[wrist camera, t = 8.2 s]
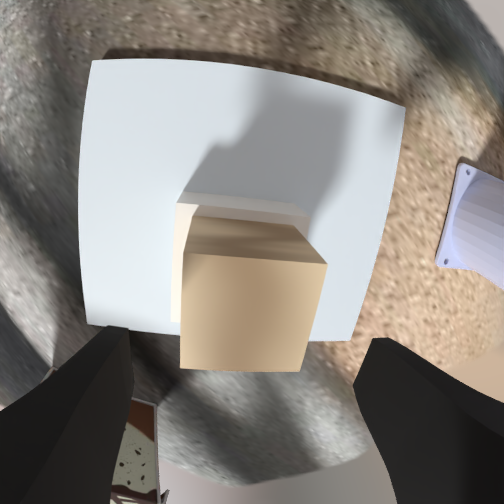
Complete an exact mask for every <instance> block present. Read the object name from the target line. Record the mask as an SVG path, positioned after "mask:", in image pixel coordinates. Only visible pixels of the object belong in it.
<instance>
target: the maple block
mask: <svg viewBox="0 0 504 504" xmlns="http://www.w3.org/2000/svg"><path fill="white" fill-rule="evenodd" d="M327 267H328V264H327V262H326V261H325V260H324V259H323V258H322V257H321V256H320V254H319V253H318V252H317V251H316V250H315V249H314V248H313V246H312V245H311V244H310V243H309V242H308V241H307V240H306V238H305V237H304V236H303V235H302V234H301V233H300V232H299V231H298V229H297V228H296V227H295V226H294V225H286V224H277V223H267V222H257V221H247V220H237V219H226V218H215V217H204V216H192V220H191V224H190V228H189V231H188V235H187V239H186V243H185V248H184V252H183V267H182V289H181V323H180V368H185V369H200V370H218V371H247V372H292V371H300V368H301V364H302V361H303V358H304V354H305V351H306V347H307V344H308V340H309V337H310V333H311V329H312V326H313V322H314V318H315V315H316V311H317V307H318V303H319V299H320V295H321V291H322V287H323V283H324V279H325V275H326V271H327Z"/></svg>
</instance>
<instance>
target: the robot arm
mask: <svg viewBox="0 0 504 504" xmlns="http://www.w3.org/2000/svg"><path fill="white" fill-rule="evenodd" d="M466 171H467V173H466ZM445 259H446V260H445ZM444 261H445V262H444ZM435 264H436V265H437V266H439V267H446V268H456V269H466V270H474V271H476V272H477V273H479V274H480V275H482V276H483V277H485V278H486V279H488V280H489V281H491V282H492V283H494V284H495V285H497V286H498V287H500V288H501V289H503V290H504V181H502V180H500V179H498V178H496V177H494V176H492V175H490V174H488V173H486V172H484V171H481V170H479V169H477V168H475V167H472V166H470V165H468V164H465V163H459V165H458V167H457V172H456V177H455V182H454V187H453V192H452V197H451V201H450V206H449V210H448V214H447V218H446V222H445V226H444V230H443V234H442V237H441V241H440V244H439V248H438V251H437V255H436V258H435ZM133 386H134V376H133V368H132V359H131V350H130V340H129V328H126V327H118V326H111V325H107V326H106V327H105V328H104V329H103V330H102V331H100V332H99V333H98V334H97V335H96V336H95V337H94V338H93V339H91V340H90V341H89V342H88V343H87V344H86V345H85V346H84V347H83V348H82V349H80V350H79V351H78V352H77V353H76V354H75V355H74V356H73V357H71V358H70V359H69V360H68V361H67V362H66V363H65V364H63V365H62V366H61V367H60V368H59V369H58V370H57V371H55V372H54V373H53V374H52V375H50V376H49V377H48V378H47V379H45V380H44V381H43V382H42V383H40V384H39V385H38V386H37V387H35V388H34V389H33V390H31V391H30V392H29V393H27V394H26V395H24V396H23V397H21V398H20V399H18V400H17V401H15V402H14V403H12V404H11V405H9V406H8V407H6V408H4V409H3V410H1V411H0V504H110V499H111V487H112V481H113V475H114V470H115V466H116V462H117V458H118V454H119V450H120V446H121V442H122V438H123V434H124V431H125V427H126V423H127V419H128V415H129V412H130V406H131V399H132V392H133ZM353 388H354V392H355V396H356V399H357V402H358V405H359V408H360V411H361V414H362V416H363V418H364V420H365V422H366V425H367V427H368V429H369V431H370V433H371V435H372V437H373V439H374V442H375V444H376V446H377V448H378V450H379V452H380V454H381V456H382V458H383V460H384V463H385V465H386V468H387V470H388V473H389V476H390V479H391V482H392V485H393V489H394V492H395V496H396V500H397V504H504V403H502V402H500V401H498V400H495V399H493V398H491V397H489V396H487V395H485V394H483V393H480V392H478V391H476V390H475V389H473V388H471V387H469V386H467V385H465V384H464V383H462V382H460V381H459V380H457V379H455V378H453V377H452V376H450V375H449V374H447V373H445V372H444V371H442V370H441V369H439V368H437V367H436V366H434V365H433V364H431V363H430V362H428V361H427V360H425V359H423V358H422V357H420V356H419V355H417V354H416V353H414V352H413V351H411V350H409V349H408V348H406V347H405V346H403V345H401V344H400V343H398V342H396V341H394V340H392V339H390V338H388V337H387V338H373V339H372V341H371V344H370V346H369V349H368V351H367V354H366V356H365V358H364V361H363V363H362V365H361V368H360V370H359V372H358V375H357V377H356V379H355V381H354V383H353Z"/></svg>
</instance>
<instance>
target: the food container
mask: <svg viewBox="0 0 504 504" xmlns="http://www.w3.org/2000/svg"><path fill="white" fill-rule="evenodd" d="M57 370H58V368H56V367H53V366H52V368H51V369H50V370H49V372H48V373H47V374H46V376H45V377H44V379H43V380H42V381H41V383H42V382H43V381H44V380H45V379H47V378H48V377H49V376H50V375H52V374H53V373H54V372H55V371H57ZM168 494H169V490H166V491H165V492H164V493H163V494H162V495H160V484H159V467H158V442H157V404H155V403H151V402H148V401H144V400H141V399H138V398H135V397H132V399H131V406H130V412H129V415H128V419H127V423H126V427H125V431H124V434H123V438H122V442H121V446H120V450H119V454H118V458H117V462H116V466H115V470H114V475H113V481H112V487H111V499H110V504H166V501H167V497H168Z"/></svg>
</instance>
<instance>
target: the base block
mask: <svg viewBox="0 0 504 504" xmlns="http://www.w3.org/2000/svg"><path fill="white" fill-rule="evenodd" d="M192 216H204V217H215V218H226V219H237V220H247V221H257V222H267V223H277V224H286V225H294V226H295V227H296V228H297V229H298V231H299V232H300V233H301V234H302V235H303V236H304V237H305V238H306V240H307V235H308V230H309V225H310V220H311V217H310V216H309V215H308V214H306V213H305V212H304V211H303V210H302V209H300V208H299V207H298V206H297V205H296V204H294V203H286V202H279V201H271V200H263V199H254V198H246V197H237V196H227V195H218V194H208V193H197V192H186V191H183V192H182V193H181V195H180V197H179V199H178V200H177V202H176V211H175V224H174V240H173V258H172V282H171V322H178V323H181V289H182V267H183V252H184V248H185V243H186V239H187V235H188V231H189V228H190V224H191V220H192Z"/></svg>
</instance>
